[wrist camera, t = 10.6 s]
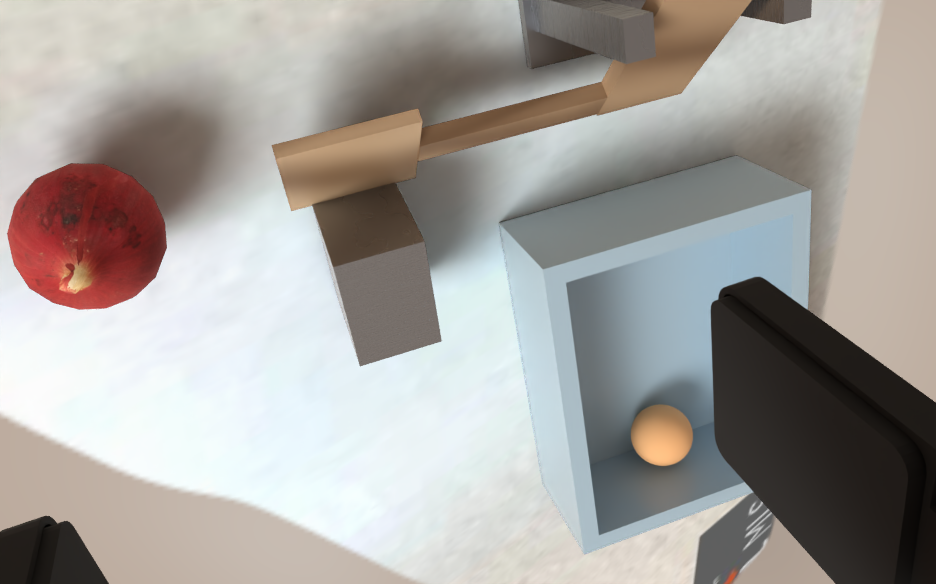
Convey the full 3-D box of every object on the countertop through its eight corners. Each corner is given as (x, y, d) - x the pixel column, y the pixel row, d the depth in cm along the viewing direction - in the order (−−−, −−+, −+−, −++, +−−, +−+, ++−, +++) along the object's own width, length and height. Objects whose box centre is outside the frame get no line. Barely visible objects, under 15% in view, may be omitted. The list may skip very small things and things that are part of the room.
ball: (655, 469, 45) (637, 477, 49) (711, 449, 46) (690, 459, 49) (630, 409, 47) (615, 421, 50) (686, 390, 47) (667, 403, 51)
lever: (83, -484, 11) (137, -305, 11) (1161, -598, 15) (1250, -470, 14) (287, 197, 37) (306, 261, 37) (660, 98, 41) (684, 155, 40)
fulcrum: (512, -44, 37) (608, -29, 28) (682, -81, 38) (822, -78, 30) (527, 66, 39) (620, 111, 30) (686, 27, 41) (818, 59, 32)
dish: (498, 222, 42) (543, 269, 37) (736, 155, 45) (811, 189, 39) (543, 484, 50) (584, 554, 45) (741, 415, 53) (803, 473, 47)
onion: (18, 143, 34) (-29, 203, 27) (163, 143, 36) (154, 200, 29) (37, 270, 36) (-1, 355, 29) (173, 265, 38) (167, 344, 31)
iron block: (333, 267, 34) (360, 366, 38) (424, 241, 34) (441, 341, 38) (312, 204, 37) (338, 300, 41) (395, 182, 38) (413, 278, 42)
